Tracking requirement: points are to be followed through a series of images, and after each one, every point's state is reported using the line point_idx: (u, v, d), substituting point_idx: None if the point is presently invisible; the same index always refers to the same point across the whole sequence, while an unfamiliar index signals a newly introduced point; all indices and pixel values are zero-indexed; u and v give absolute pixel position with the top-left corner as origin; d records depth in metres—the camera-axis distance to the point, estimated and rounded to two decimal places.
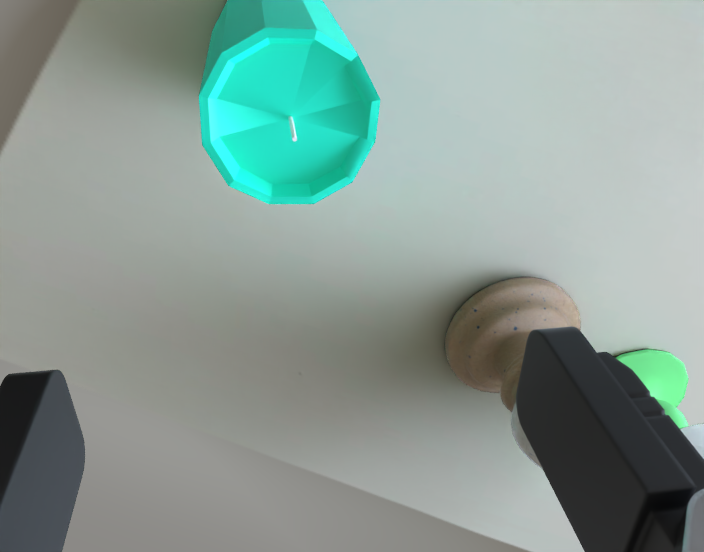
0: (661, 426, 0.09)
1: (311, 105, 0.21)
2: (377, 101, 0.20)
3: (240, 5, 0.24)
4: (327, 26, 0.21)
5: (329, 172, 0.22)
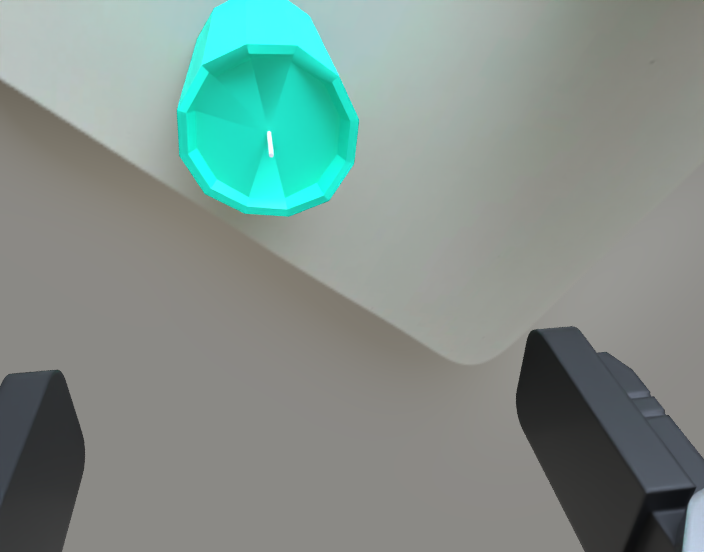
0: (661, 426, 0.09)
1: (256, 112, 0.20)
2: (248, 47, 0.19)
3: None
4: (192, 71, 0.21)
5: (329, 96, 0.20)
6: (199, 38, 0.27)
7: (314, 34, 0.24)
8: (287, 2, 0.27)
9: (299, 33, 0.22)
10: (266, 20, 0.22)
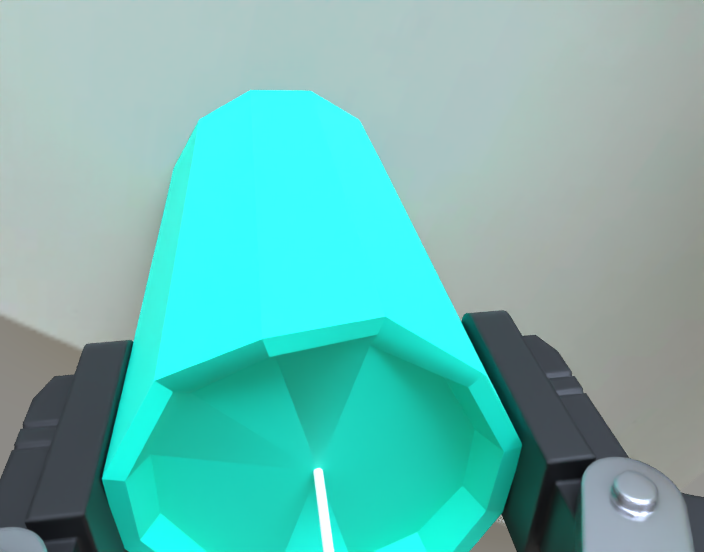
0: (577, 403, 0.10)
1: (289, 441, 0.09)
2: (267, 343, 0.07)
3: None
4: (146, 329, 0.10)
5: (453, 398, 0.09)
6: (174, 179, 0.15)
7: (385, 189, 0.13)
8: (324, 107, 0.16)
9: (370, 227, 0.10)
10: (297, 193, 0.11)
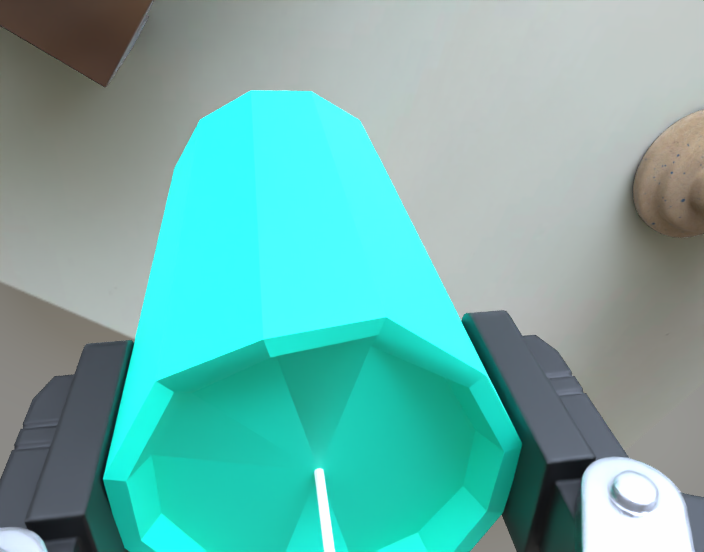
0: (577, 403, 0.10)
1: (290, 441, 0.09)
2: (268, 344, 0.07)
3: None
4: (147, 330, 0.10)
5: (454, 398, 0.09)
6: (175, 180, 0.15)
7: (386, 190, 0.13)
8: (324, 107, 0.16)
9: (370, 228, 0.10)
10: (298, 193, 0.11)
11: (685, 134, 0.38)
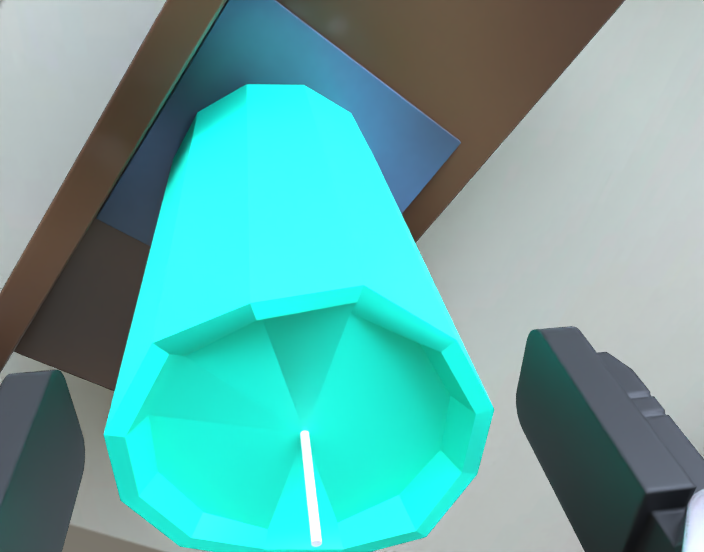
0: (661, 426, 0.09)
1: (277, 403, 0.10)
2: (255, 307, 0.08)
3: None
4: (145, 303, 0.11)
5: (429, 364, 0.10)
6: (174, 169, 0.16)
7: (372, 176, 0.13)
8: (316, 100, 0.16)
9: (354, 209, 0.11)
10: (287, 177, 0.12)
11: None
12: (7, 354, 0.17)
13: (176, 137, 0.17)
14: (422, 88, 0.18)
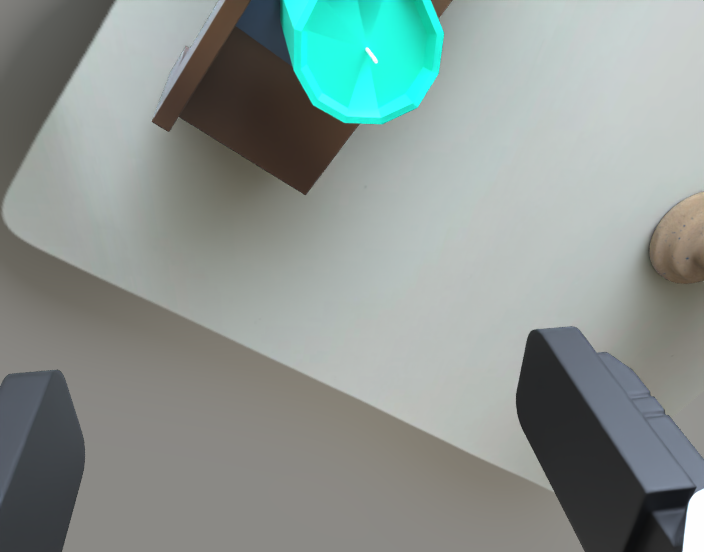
0: (661, 426, 0.09)
1: (357, 30, 0.24)
2: None
3: None
4: (298, 1, 0.25)
5: (418, 14, 0.24)
6: None
7: None
8: None
9: None
10: None
11: (689, 210, 0.51)
12: (192, 90, 0.31)
13: None
14: None
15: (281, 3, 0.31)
